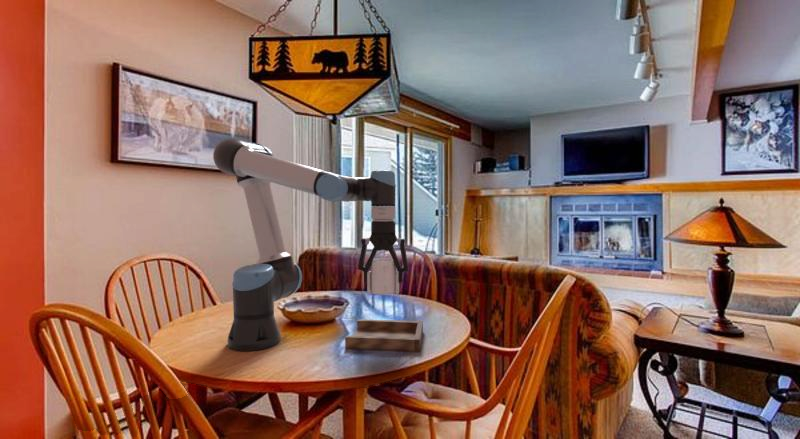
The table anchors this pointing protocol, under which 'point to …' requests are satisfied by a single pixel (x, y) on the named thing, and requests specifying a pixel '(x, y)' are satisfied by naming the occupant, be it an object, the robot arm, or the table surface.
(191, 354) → the table surface
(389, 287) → the mug
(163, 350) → the table surface
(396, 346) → the tray
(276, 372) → the table surface
